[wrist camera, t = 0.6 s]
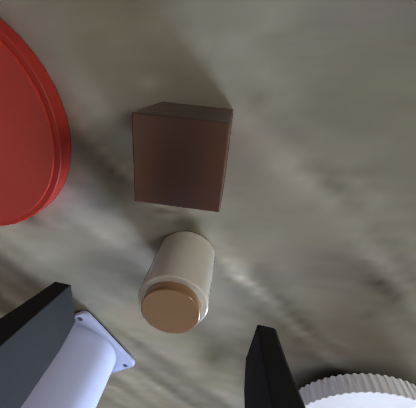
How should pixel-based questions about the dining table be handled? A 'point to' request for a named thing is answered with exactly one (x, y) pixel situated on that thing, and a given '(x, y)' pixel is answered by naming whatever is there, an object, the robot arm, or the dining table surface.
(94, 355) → the robot arm
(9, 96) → the red lid
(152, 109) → the walnut block
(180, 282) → the spice pot
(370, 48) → the dining table surface
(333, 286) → the dining table surface
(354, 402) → the plastic lid
